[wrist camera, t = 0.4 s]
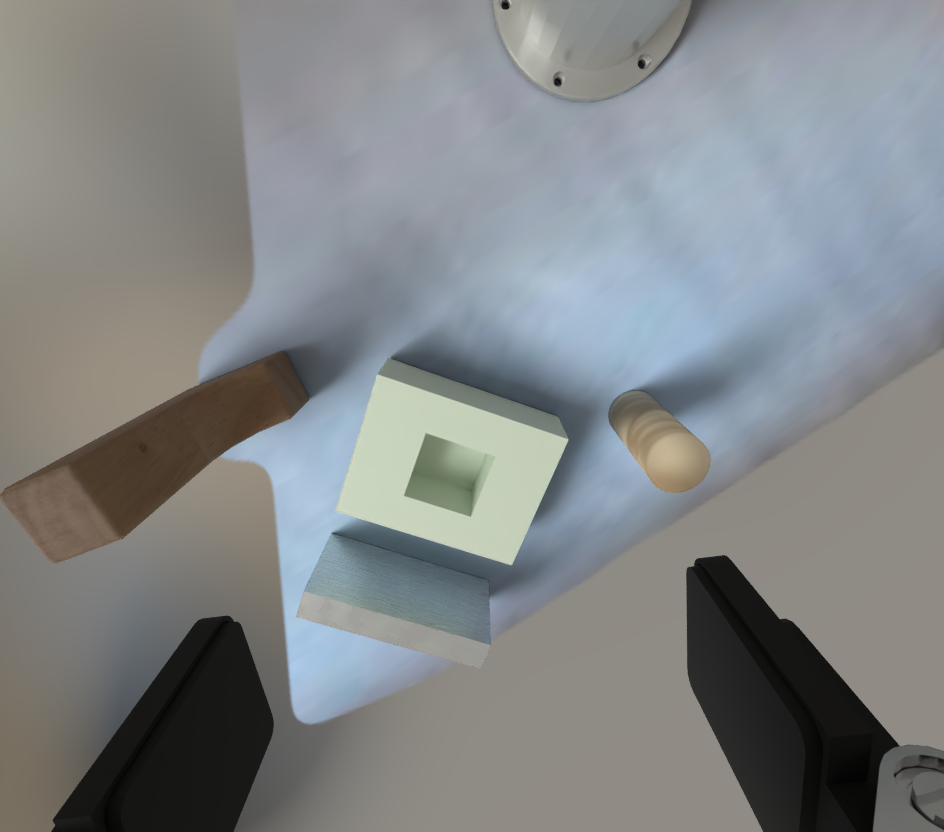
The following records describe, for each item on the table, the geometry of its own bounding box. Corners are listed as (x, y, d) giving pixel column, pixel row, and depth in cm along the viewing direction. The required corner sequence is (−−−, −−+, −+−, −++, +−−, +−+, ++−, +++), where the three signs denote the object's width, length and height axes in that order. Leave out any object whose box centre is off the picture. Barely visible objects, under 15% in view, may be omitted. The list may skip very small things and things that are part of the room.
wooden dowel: (621, 383, 42) (664, 427, 32) (665, 399, 42) (721, 447, 33) (600, 427, 43) (636, 481, 33) (644, 442, 43) (691, 500, 34)
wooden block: (285, 348, 41) (150, 430, 24) (312, 399, 42) (202, 510, 25) (187, 389, 42) (-9, 494, 25) (216, 437, 43) (49, 568, 26)
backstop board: (331, 533, 46) (303, 591, 39) (488, 580, 48) (491, 645, 40) (324, 555, 47) (295, 616, 39) (479, 601, 49) (480, 668, 41)
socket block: (388, 358, 41) (377, 374, 36) (558, 416, 42) (568, 439, 38) (350, 481, 44) (335, 511, 39) (507, 531, 46) (511, 565, 41)
